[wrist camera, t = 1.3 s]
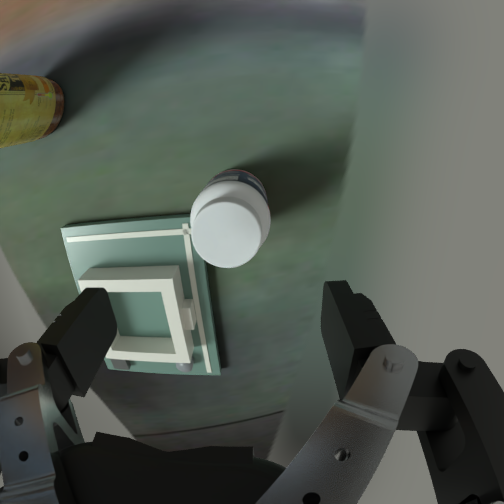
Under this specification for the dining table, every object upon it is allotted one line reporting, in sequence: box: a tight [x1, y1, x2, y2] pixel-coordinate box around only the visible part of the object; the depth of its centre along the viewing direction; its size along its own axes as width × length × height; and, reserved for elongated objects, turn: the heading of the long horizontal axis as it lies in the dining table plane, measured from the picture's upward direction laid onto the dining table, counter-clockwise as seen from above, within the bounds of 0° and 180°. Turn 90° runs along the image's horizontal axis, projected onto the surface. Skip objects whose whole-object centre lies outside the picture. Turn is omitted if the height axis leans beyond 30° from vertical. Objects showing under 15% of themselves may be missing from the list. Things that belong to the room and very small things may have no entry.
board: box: [61, 214, 221, 375], centre depth 28 cm, size 18×14×4 cm
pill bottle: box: [190, 169, 271, 268], centre depth 21 cm, size 5×5×9 cm
